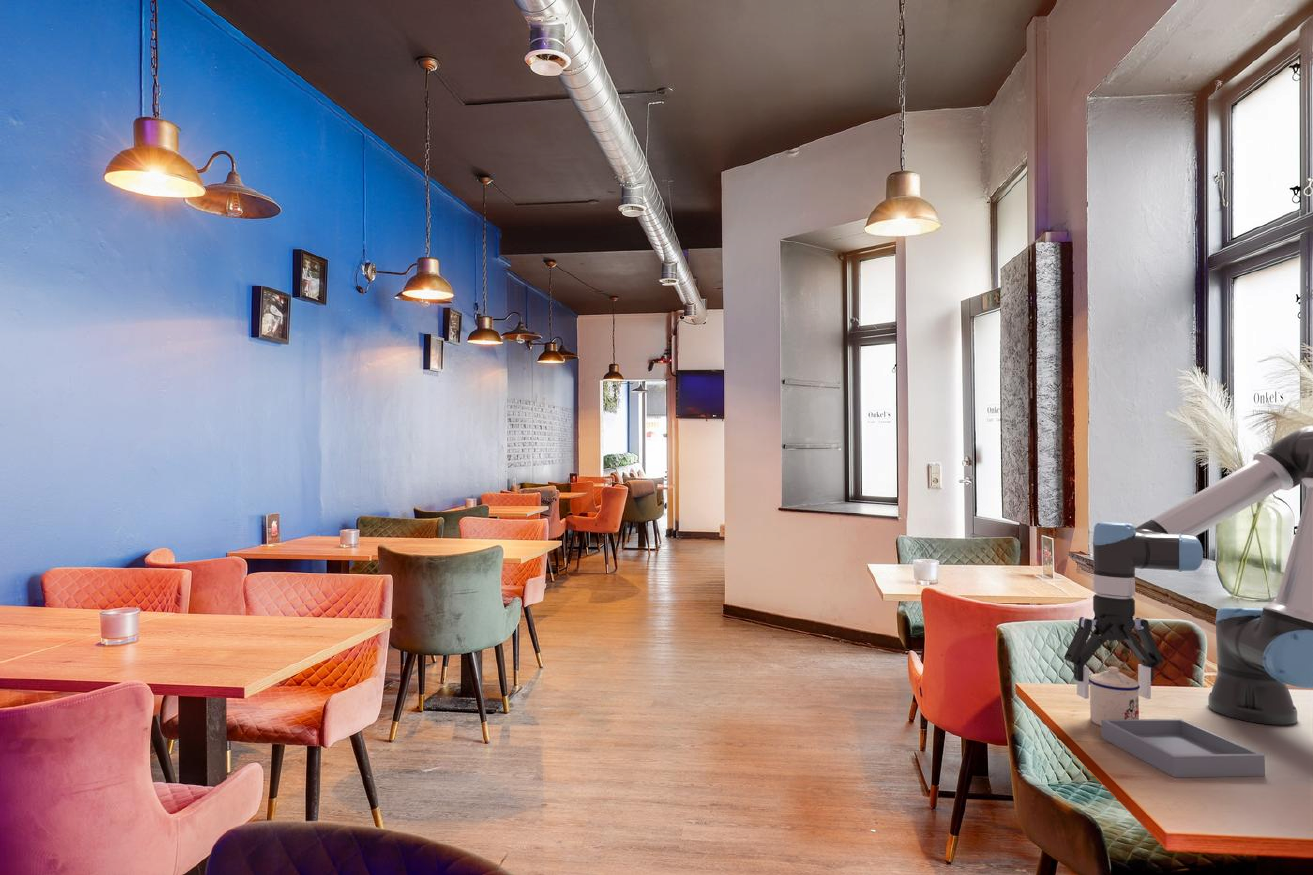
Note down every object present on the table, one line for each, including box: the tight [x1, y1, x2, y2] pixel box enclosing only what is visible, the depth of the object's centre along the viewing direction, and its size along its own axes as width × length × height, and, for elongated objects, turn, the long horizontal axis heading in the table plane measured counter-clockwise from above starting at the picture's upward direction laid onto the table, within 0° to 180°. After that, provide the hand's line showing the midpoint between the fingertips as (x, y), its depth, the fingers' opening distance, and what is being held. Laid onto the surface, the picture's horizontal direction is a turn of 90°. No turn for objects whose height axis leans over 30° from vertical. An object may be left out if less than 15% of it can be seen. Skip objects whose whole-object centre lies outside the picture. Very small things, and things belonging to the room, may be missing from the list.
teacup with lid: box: [1089, 666, 1140, 727], centre depth 154 cm, size 12×9×12 cm
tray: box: [1100, 718, 1266, 778], centre depth 136 cm, size 17×19×4 cm
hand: (1113, 697), depth 154 cm, fingers open, 13 cm apart
